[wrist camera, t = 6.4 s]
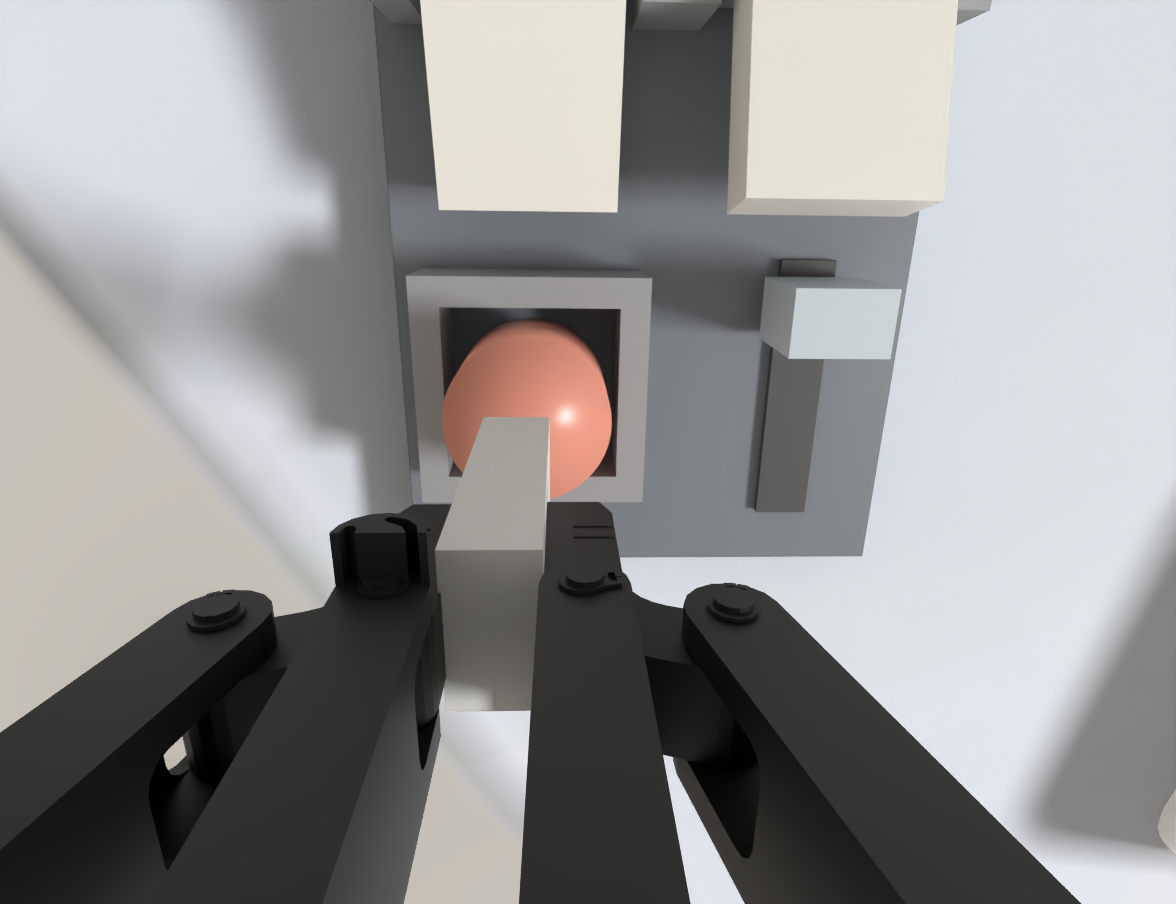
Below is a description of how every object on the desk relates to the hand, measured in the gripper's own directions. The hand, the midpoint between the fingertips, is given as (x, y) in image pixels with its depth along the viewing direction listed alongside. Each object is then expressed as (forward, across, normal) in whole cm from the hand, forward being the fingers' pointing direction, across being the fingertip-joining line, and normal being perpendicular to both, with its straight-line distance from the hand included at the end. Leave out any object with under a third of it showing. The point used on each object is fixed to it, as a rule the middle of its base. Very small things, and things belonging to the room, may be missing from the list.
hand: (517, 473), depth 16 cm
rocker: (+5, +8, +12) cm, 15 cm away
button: (+7, 0, 0) cm, 7 cm away
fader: (+8, +9, +3) cm, 12 cm away
